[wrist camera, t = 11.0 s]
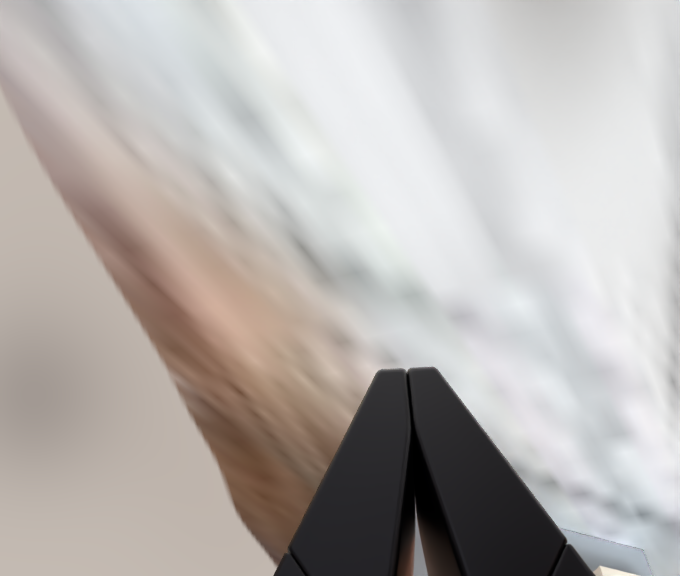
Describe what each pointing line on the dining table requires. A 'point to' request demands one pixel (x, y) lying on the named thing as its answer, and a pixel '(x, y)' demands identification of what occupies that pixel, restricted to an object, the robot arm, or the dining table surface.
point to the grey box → (587, 547)
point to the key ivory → (610, 572)
